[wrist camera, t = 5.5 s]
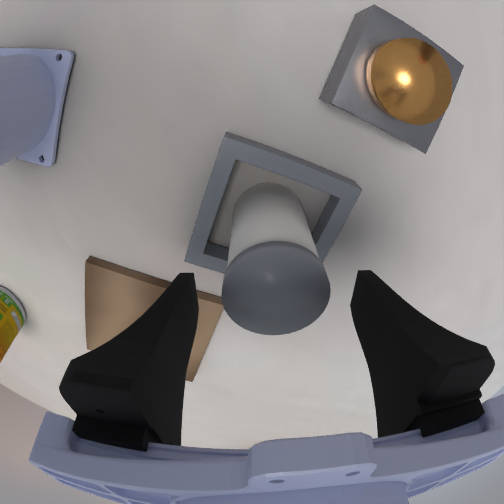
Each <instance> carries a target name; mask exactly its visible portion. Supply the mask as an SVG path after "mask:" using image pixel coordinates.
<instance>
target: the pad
mask: <svg viewBox="0 0 504 504" xmlns="http://www.w3.org/2000/svg"><path fill="white" fill-rule="evenodd" d="M170 284H171V282H167V281H164V280H161V279H158V278H155V277H152V276H148V275H145V274H142V273H139V272H136V271H133V270H130V269H127V268H124V267H121V266H118V265H115V264H112V263H109V262H106V261H103V260H100V259H97V258H94V257H91V256H89V258H88V259H87V260H86V264H85V320H86V341H87V349H89V350H91V351H92V350H94V349H96V348H97V347H99V346H101V345H103V344H104V343H106V342H108V341H109V340H111V339H112V338H114V337H115V336H116V335H118V334H119V333H121V332H122V331H124V330H125V329H126V328H128V327H129V326H130V325H131V324H132V323H134V322H135V321H136V320H137V319H138V318H139V317H140V316H142V315H143V314H144V313H145V312H146V311H147V309H148V308H149V307H150V306H151V305H152V304H153V303H154V302H155V301H156V300H157V299H158V298H159V297H160V296H161V294H162V293H163V292H164V291H165V290H166V289H167V287H168V286H169V285H170ZM196 292H197V298H198V304H199V314H198V323H197V330H196V334H195V338H194V342H193V347H192V351H191V355H190V359H189V363H188V367H187V373H186V379H185V380H187V381H191V382H193V379H194V377H195V375H196V372H197V370H198V367H199V365H200V363H201V360H202V358H203V356H204V353H205V351H206V348H207V346H208V344H209V341H210V339H211V336H212V334H213V332H214V329H215V327H216V325H217V322H218V320H219V317H220V315H221V313H222V310H223V308H224V306H223V303H222V298H221V297H218V296H214V295H211V294H207V293H204V292H201V291H197V290H196Z"/></svg>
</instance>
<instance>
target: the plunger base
mask: <svg viewBox="0 0 504 504" xmlns="http://www.w3.org/2000/svg"><path fill="white" fill-rule="evenodd" d="M400 38H416V39H419V40H422V41H424V42H426V43H428V44H430V45H431V46H432V47H434V48H435V49H436V50H437V51H438V52H439V53H440V54H441V56H442V57H443V58H444V60H445V61H446V63H447V65H448V67H449V70H450V73H451V77H452V94H453V92H454V90H455V87H456V85H457V82H458V80H459V77H460V74H461V72H462V69H463V67H464V66H463V65H462V64H461V63H460V62H459V61H457V60H456V59H455V58H454V57H452V56H451V55H450V54H449V53H447V52H446V51H445V50H443V49H442V48H441V47H439V46H438V45H437V44H435V43H434V42H433V41H431V40H430V39H429V38H427V37H426V36H424V35H423V34H421V33H420V32H418V31H417V30H415V29H414V28H412V27H411V26H409V25H408V24H406V23H405V22H403V21H402V20H400V19H398V18H397V17H395V16H393V15H392V14H390V13H388V12H387V11H385V10H383V9H381V8H380V7H378V6H376V5H372V6H370V7H368V8H366V9H364V10H362V11H360V12H359V13H357V14H355V17H354V19H353V21H352V24H351V26H350V28H349V31H348V33H347V35H346V37H345V40H344V42H343V44H342V47H341V49H340V51H339V54H338V56H337V58H336V61H335V63H334V65H333V67H332V70H331V72H330V74H329V77H328V79H327V81H326V84H325V86H324V88H323V91H322V93H321V95H320V97H319V99H321V100H323V101H325V102H328V103H330V104H332V105H334V106H336V107H338V108H341V109H343V110H345V111H347V112H349V113H351V114H353V115H355V116H357V117H359V118H361V119H363V120H365V121H367V122H369V123H371V124H373V125H374V126H376V127H378V128H380V129H382V130H384V131H385V132H387V133H389V134H391V135H393V136H394V137H396V138H398V139H400V140H401V141H403V142H405V143H407V144H409V145H410V146H412V147H414V148H416V149H418V150H419V151H421V152H423V153H425V154H426V152H427V150H428V148H429V146H430V144H431V142H432V139H433V137H434V135H435V133H436V131H437V129H438V127H439V124H440V122H441V120H442V118H443V115H444V114H443V115H442V116H441V117H440V118H438V119H437V120H435V121H434V122H431V123H429V124H425V125H413V124H409V123H406V122H403V121H401V120H398V119H395V118H393V117H391V116H389V115H388V114H386V113H385V112H384V111H383V110H381V109H380V108H379V106H378V105H377V104H376V103H375V101H374V100H373V98H372V96H371V94H370V92H369V89H368V85H367V80H366V69H367V64H368V61H369V58H370V56H371V54H372V53H373V51H374V50H375V49H376V48H377V47H378V46H379V45H381V44H382V43H384V42H387V41H390V40H395V39H400ZM444 113H445V112H444Z"/></svg>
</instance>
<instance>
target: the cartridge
mask: <svg viewBox="0 0 504 504" xmlns="http://www.w3.org/2000/svg"><path fill="white" fill-rule="evenodd" d="M329 298H330V283H329V280H328V277H327V274H326V271H325V268H324V266H323V264H322V262H321V260H320V259H319V256H318V253H317V250H316V247H315V244H314V241H313V238H312V235H311V232H310V229H309V226H308V223H307V220H306V217H305V215H304V212H303V209H302V206H301V203H300V201H299V199H298V198H297V196H296V195H295V194H294V193H293V192H292V191H291V190H290V189H288V188H286V187H285V186H282V185H279V184H275V183H262V184H258V185H255V186H253V187H251V188H249V189H247V190H246V191H245V192H244V193H243V194H242V195H241V196H240V197H239V199H238V200H237V202H236V204H235V208H234V214H233V222H232V230H231V238H230V246H229V255H228V263H227V269H226V271H225V274H224V279H223V287H222V303H223V306H224V309H225V311H226V312H227V314H228V315H229V317H230V318H231V319H232V320H233V321H234V322H235V323H236V324H238V325H239V326H241V327H243V328H244V329H247V330H249V331H251V332H255V333H259V334H264V335H282V334H288V333H292V332H295V331H298V330H300V329H303V328H305V327H307V326H308V325H310V324H311V323H313V322H314V321H315V320H316V319H317V318H318V317H319V316H320V315H321V314H322V313H323V311H324V310H325V308H326V306H327V304H328V302H329Z"/></svg>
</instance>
